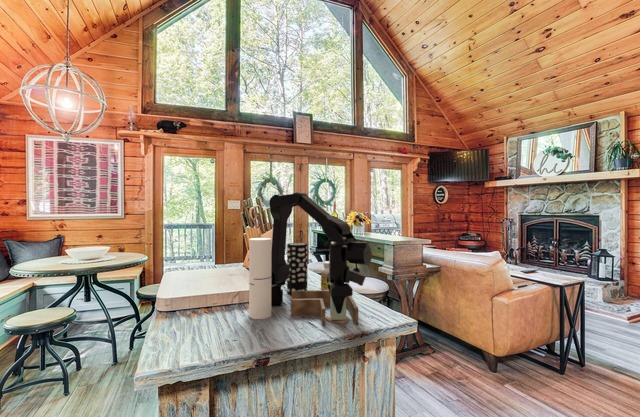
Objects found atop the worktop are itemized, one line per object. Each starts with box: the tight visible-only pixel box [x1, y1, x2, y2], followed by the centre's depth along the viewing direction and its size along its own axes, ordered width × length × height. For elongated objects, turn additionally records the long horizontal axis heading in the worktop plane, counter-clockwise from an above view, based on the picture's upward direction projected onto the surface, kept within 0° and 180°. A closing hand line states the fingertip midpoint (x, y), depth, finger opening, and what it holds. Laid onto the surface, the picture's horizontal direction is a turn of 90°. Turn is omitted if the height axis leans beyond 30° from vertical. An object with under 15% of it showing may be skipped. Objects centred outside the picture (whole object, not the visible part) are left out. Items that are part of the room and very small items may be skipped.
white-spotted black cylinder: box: [286, 242, 308, 296], centre depth 130 cm, size 8×8×20 cm
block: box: [329, 294, 347, 320], centre depth 100 cm, size 4×4×8 cm
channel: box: [290, 289, 359, 326], centre depth 105 cm, size 20×20×5 cm
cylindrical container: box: [248, 237, 272, 320], centre depth 103 cm, size 7×7×25 cm
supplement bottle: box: [320, 260, 330, 290], centre depth 129 cm, size 7×7×13 cm
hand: (338, 310), depth 100 cm, fingers closed on block, 4 cm apart
